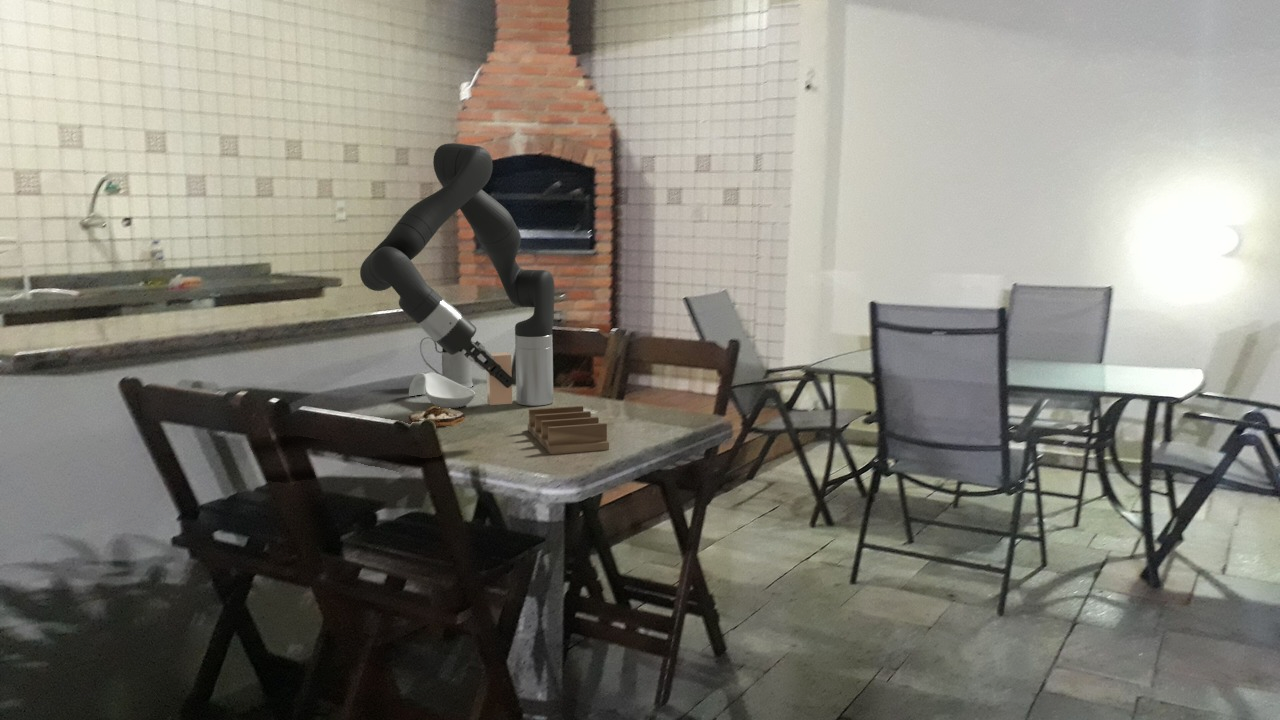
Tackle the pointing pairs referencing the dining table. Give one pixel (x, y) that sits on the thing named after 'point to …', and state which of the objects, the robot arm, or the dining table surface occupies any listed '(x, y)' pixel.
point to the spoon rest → (441, 390)
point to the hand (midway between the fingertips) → (508, 382)
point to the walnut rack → (567, 430)
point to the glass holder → (454, 366)
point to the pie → (438, 416)
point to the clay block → (494, 387)
